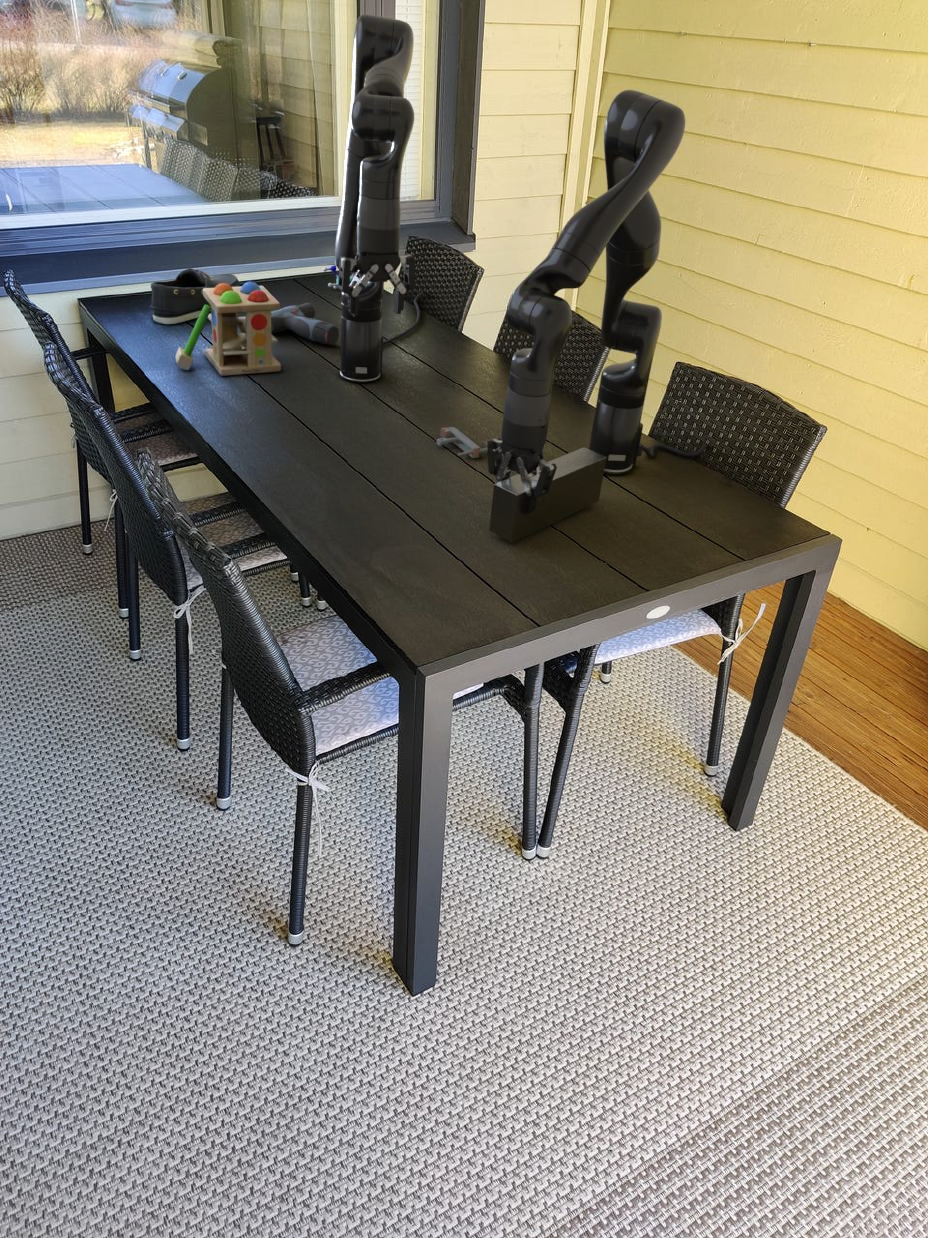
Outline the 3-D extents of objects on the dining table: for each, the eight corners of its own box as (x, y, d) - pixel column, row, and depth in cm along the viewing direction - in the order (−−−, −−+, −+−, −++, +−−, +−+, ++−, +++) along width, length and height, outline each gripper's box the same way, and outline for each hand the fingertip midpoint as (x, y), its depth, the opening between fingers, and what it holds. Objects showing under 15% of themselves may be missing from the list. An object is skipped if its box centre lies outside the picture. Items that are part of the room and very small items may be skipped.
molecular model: (356, 287, 278) (344, 252, 277) (328, 299, 282) (316, 265, 280) (372, 289, 288) (361, 256, 287) (345, 301, 292) (334, 268, 291)
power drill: (365, 313, 253) (305, 296, 261) (318, 330, 240) (256, 311, 248) (364, 334, 256) (305, 316, 264) (318, 351, 243) (257, 332, 251)
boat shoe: (260, 302, 272) (258, 264, 267) (170, 326, 248) (166, 284, 243) (226, 294, 278) (223, 256, 272) (135, 316, 254) (130, 275, 248)
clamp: (428, 429, 204) (470, 423, 208) (427, 439, 205) (469, 432, 209) (464, 459, 193) (507, 451, 198) (463, 469, 194) (506, 461, 199)
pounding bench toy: (183, 379, 220) (176, 299, 210) (169, 357, 231) (162, 280, 221) (282, 371, 230) (280, 294, 220) (264, 350, 240) (262, 276, 230)
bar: (576, 491, 188) (583, 446, 183) (598, 501, 185) (606, 456, 180) (489, 530, 172) (494, 483, 167) (511, 542, 170) (517, 495, 164)
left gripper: (348, 228, 167) (347, 323, 176) (424, 226, 173) (419, 317, 182) (333, 218, 172) (332, 310, 182) (407, 216, 178) (402, 305, 188)
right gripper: (479, 405, 162) (470, 497, 172) (545, 435, 154) (531, 529, 164) (509, 396, 167) (498, 485, 176) (574, 424, 159) (560, 516, 169)
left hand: (376, 314), depth 182 cm, fingers open, 8 cm apart
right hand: (514, 506), depth 170 cm, fingers closed on bar, 5 cm apart
